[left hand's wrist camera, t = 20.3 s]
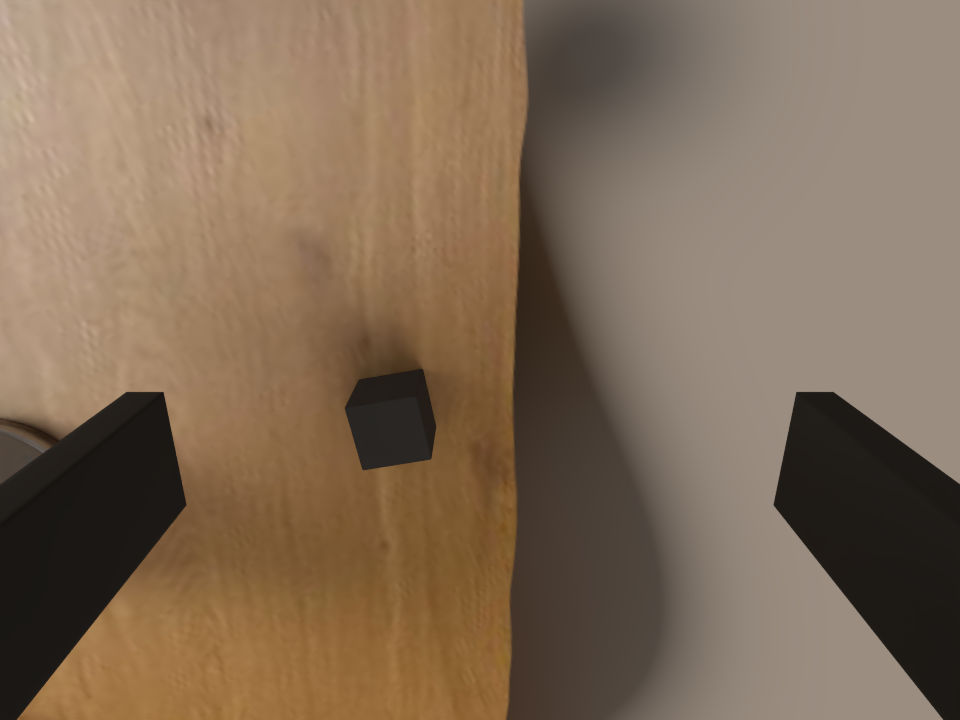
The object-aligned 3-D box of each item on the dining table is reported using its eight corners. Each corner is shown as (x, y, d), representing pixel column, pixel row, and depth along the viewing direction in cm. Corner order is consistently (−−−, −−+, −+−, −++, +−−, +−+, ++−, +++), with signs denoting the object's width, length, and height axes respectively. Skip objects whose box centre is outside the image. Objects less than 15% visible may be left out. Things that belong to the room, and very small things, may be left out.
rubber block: (436, 427, 47) (431, 459, 42) (374, 437, 47) (362, 470, 42) (422, 368, 45) (416, 395, 40) (358, 379, 45) (344, 407, 41)
